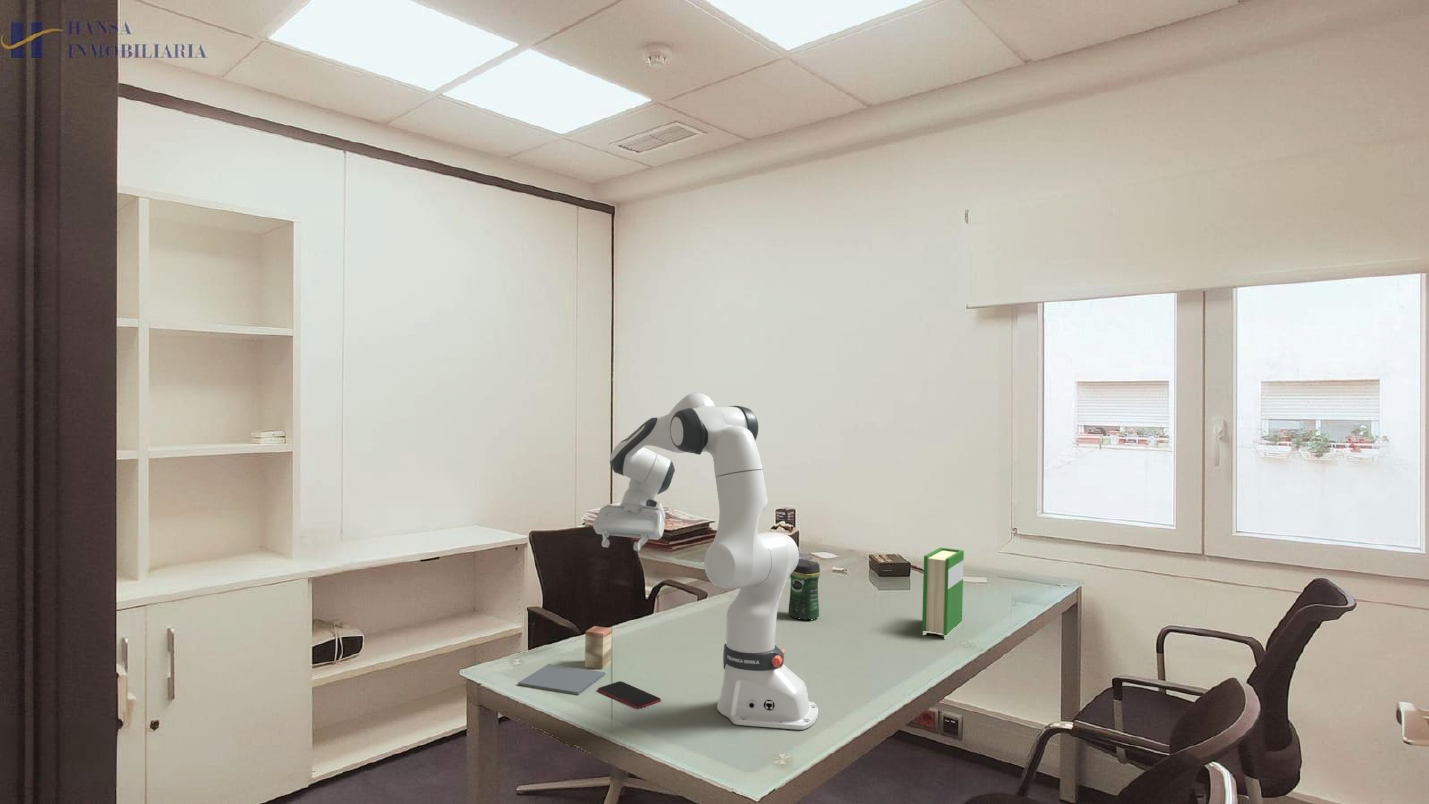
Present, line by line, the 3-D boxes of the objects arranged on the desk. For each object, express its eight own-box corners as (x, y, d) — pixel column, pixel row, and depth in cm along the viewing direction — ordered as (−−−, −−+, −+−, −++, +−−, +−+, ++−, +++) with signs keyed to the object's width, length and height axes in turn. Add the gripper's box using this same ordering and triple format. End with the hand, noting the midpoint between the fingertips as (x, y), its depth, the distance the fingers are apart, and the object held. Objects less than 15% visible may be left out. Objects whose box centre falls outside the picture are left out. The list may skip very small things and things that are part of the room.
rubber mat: (605, 674, 188) (605, 672, 188) (578, 694, 174) (578, 692, 174) (548, 666, 193) (548, 663, 193) (517, 685, 179) (518, 682, 179)
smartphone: (638, 707, 167) (596, 688, 177) (638, 711, 167) (596, 692, 177) (662, 698, 172) (620, 680, 183) (662, 702, 172) (620, 684, 183)
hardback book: (946, 639, 224) (948, 559, 224) (921, 635, 228) (924, 556, 228) (961, 626, 239) (963, 550, 239) (938, 621, 243) (940, 547, 243)
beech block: (610, 662, 197) (611, 628, 197) (602, 669, 192) (603, 633, 192) (593, 660, 198) (594, 626, 198) (584, 666, 193) (585, 631, 193)
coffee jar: (823, 618, 243) (824, 561, 243) (807, 622, 238) (808, 564, 238) (799, 612, 250) (801, 556, 250) (784, 616, 245) (785, 558, 245)
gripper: (599, 497, 217) (582, 537, 207) (666, 503, 211) (651, 544, 201) (605, 511, 221) (589, 550, 212) (671, 517, 215) (657, 557, 206)
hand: (620, 547), depth 207 cm, fingers open, 8 cm apart
